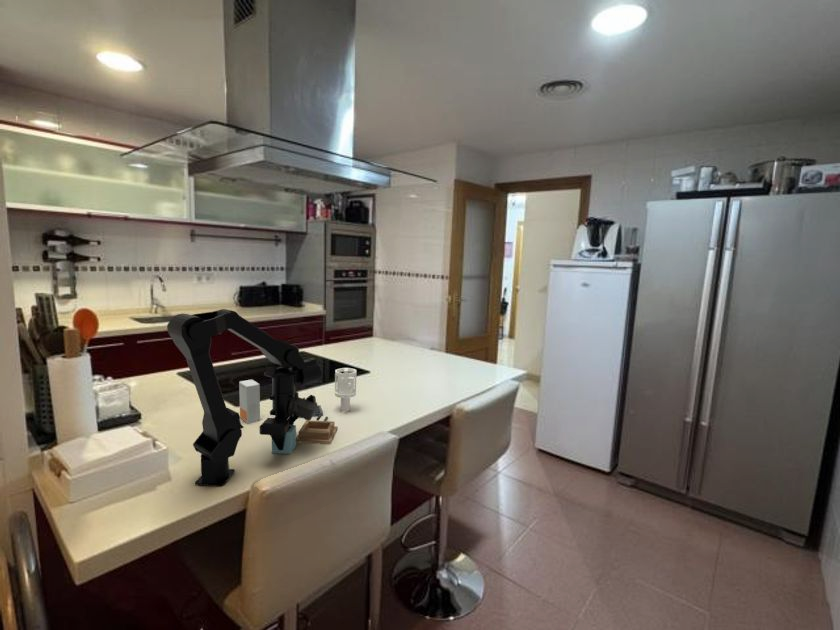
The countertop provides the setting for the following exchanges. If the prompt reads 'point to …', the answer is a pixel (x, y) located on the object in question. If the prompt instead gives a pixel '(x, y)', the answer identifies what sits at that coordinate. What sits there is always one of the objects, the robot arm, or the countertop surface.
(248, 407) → the skincare box
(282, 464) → the countertop surface
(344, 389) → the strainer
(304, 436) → the dock
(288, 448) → the blue drawer box
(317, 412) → the phone
